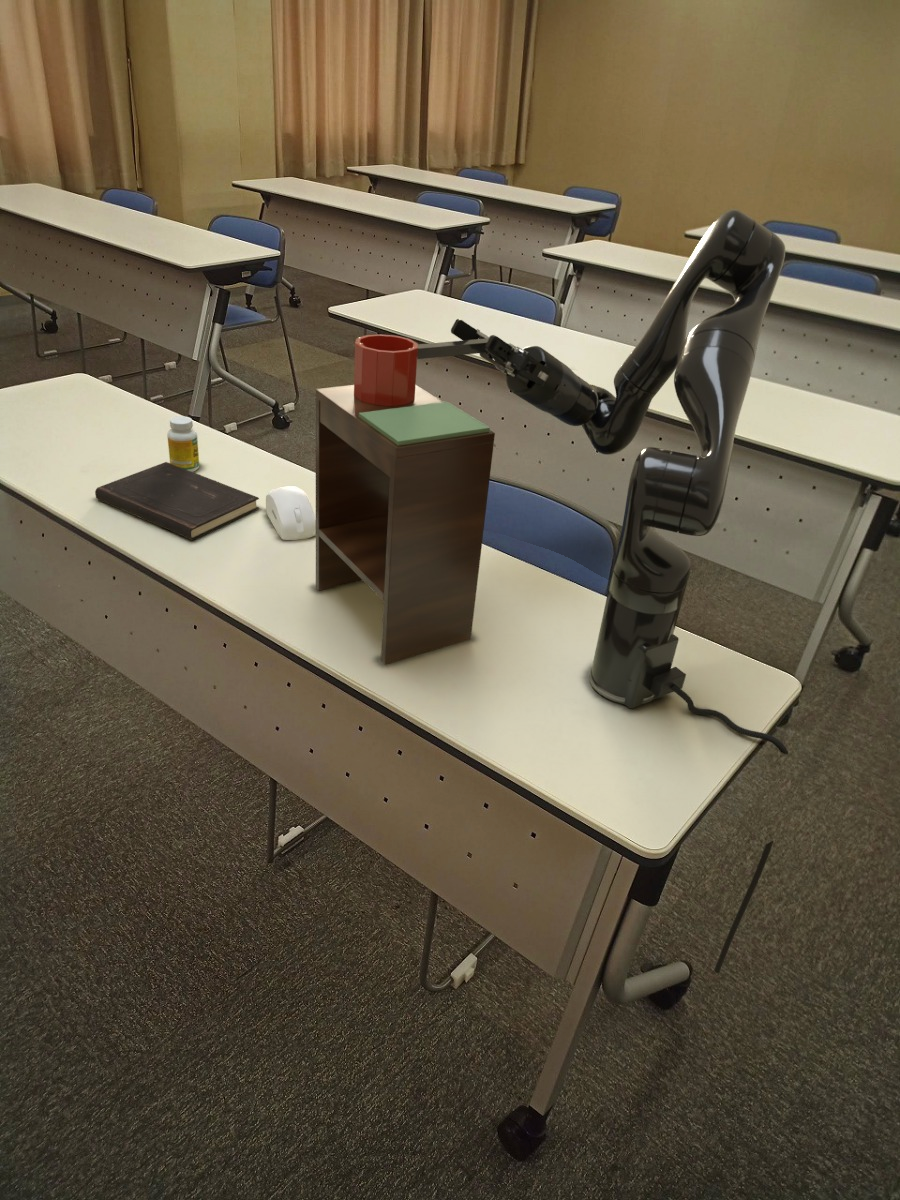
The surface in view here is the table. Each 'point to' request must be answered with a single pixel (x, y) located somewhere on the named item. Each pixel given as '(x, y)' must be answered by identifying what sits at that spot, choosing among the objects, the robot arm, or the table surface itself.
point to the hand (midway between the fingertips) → (471, 333)
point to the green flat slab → (423, 423)
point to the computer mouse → (291, 513)
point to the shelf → (401, 521)
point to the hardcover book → (178, 500)
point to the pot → (398, 365)
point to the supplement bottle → (183, 443)
